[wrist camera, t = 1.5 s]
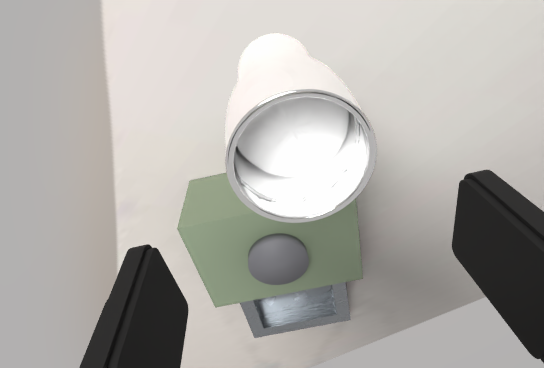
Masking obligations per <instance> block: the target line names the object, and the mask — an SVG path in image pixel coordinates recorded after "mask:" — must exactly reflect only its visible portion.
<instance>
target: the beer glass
mask: <svg viewBox="0 0 544 368" xmlns="http://www.w3.org/2000/svg"><path fill="white" fill-rule="evenodd" d="M237 75H238V81H237V83H236V85H235V87H234V88H233V90H232V93H231V95H230V98H229V102H228V106H227V111H226V117H225V150H226V158H225V164H226V172H227V177H228V180H229V182H230V185H231V187H232V189H233V191H234V192H235V194H236V195H237V197H238V198H239V199H240V200H241V201H242V202H243V203H244V204H245V205H246V206H247V207H248V208H250V209H251V210H252V211H254V212H256V213H257V214H259V215H261V216H263V217H266V218H269V219H272V220H275V221H280V222H287V223H303V222H310V221H315V220H319V219H322V218H325V217H328V216H330V215H332V214H334V213H336V212H338V211H340V210H341V209H343V208H344V207H346V206H347V205H348V204H350V203H351V202H352V201H353V200H354V199H355V198H356V197H357V196H358V195H359V194H360V193H361V192H362V190H363V189H364V188H365V186H366V185H367V183H368V181H369V179H370V177H371V175H372V173H373V170H374V167H375V163H376V156H377V144H376V138H375V134H374V130H373V128H372V125H371V124H370V122H369V120H368V118H367V117H366V115H365V114H364V113H363V112H362V110H361V108H360V106H359V104H358V102H357V101H356V99H355V97H354V96H353V94H352V93H351V91H350V90H349V88H348V87H347V86H346V84H345V83H344V82H343V81H342V79H341V78H340V77H339V76H338V75H337V74H336V73H335V72H334V71H333V70H331V69H330V68H329V67H328V66H327V65H325V64H324V63H322V62H321V61H319V60H317V59H315V58H313V57H311V56H310V55H309V53H308V51H307V50H306V48H305V47H304V46H303V45H302V44H301V43H300V42H299V41H298V40H297V39H295V38H293V37H291V36H289V35H286V34H281V33H271V34H266V35H263V36H261V37H259V38H257V39H255V40H254V41H252V42H251V43H250V44H249V45H248V46H247V47H246V49H245V50H244V51H243V53H242V55H241V57H240V60H239V63H238V70H237Z"/></svg>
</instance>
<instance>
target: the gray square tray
mask: <svg viewBox="0 0 544 368" xmlns="http://www.w3.org/2000/svg"><path fill="white" fill-rule="evenodd" d="M240 304H241V307H242V309H243V311H244V314H245V316H246V319H247V321H248V323H249V326H250V328H251V331H252V333H253V335H254V338H257V337H262V336H268V335H273V334H278V333H284V332H289V331H294V330H299V329H305V328H310V327H315V326H320V325H326V324H331V323H336V322H342V321H347V320H350V312H349V304H348V297H347V289H346V282H343V283H338V284H333V285H328V286H323V287H318V288H313V289H307V290H302V291H297V292H292V293H287V294H282V295H277V296H272V297H267V298H261V299H256V300H251V301H246V302H241V303H240Z"/></svg>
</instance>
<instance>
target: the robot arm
mask: <svg viewBox="0 0 544 368" xmlns="http://www.w3.org/2000/svg"><path fill="white" fill-rule="evenodd" d="M452 249H453V252H454V255H455V256H456V258H457V259H458V260H459V262H460V263H461V264H462V266H463V267H464V268H465V269H466V271H467V272H468V273H469V275H470V276H471V277H472V279H473V280H474V281H475V282H476V284H477V285H478V286H479V288H480V289H481V290H482V292H483V293H484V294H485V296H486V297H487V298H488V299H489V300H490V302H491V303H492V305H493V306H494V307H495V308H496V310H497V311H498V312H499V314H500V315H501V316H502V318H503V319H504V320H505V322H506V323H507V324H508V325H509V327H510V328H511V329H512V331H513V332H514V333H515V335H516V336H517V337H518V339H519V340H520V341H521V342H522V344H523V345H524V346H525V348H526V349H527V350H528V351H529V353H530V354H531V355H532V356H533V357H535V358H537V359H541V360H542V361H543V362H544V212H543V211H542V210H541V209H539V208H538V207H537V206H535V205H534V204H533V203H532V202H530V201H529V200H528V199H526V198H525V197H524V196H523V195H521V194H520V193H519V192H518V191H516V190H515V189H514V188H512V187H511V186H510V185H509V184H507V183H506V182H505V181H503V180H502V179H501V178H500V177H498V176H497V175H496V174H494V173H493V172H492V171H490V170H483V171H479V172H474V173H469V174H467V175H466V176H465V177H464V180H461V181H460V183H459V190H458V198H457V206H456V215H455V223H454V231H453V240H452ZM187 318H188V304H187V301H186V299H185V298H184V296H183V294H182V292H181V290H180V289H179V287H178V285H177V283H176V281H175V279H174V278H173V276H172V274H171V272H170V270H169V268H168V267H167V265H166V263H165V261H164V259H163V258H162V256H161V254H160V252H159V250H158V249H157V248H152V247H151V246H150V245H143V246H138V247H134V248H130V249H129V250H128V251H127V254H126V256H125V259H124V261H123V264H122V266H121V269H120V271H119V274H118V276H117V279H116V281H115V284H114V286H113V289H112V291H111V294H110V296H109V299H108V300H107V302H106V303H105V306H104V308H103V311H102V313H101V315H100V318H99V320H98V323H97V325H96V328H95V330H94V333H93V335H92V338H91V340H90V343H89V345H88V348H87V350H86V353H85V355H84V358H83V360H82V363H81V365H80V368H180V365H181V359H182V352H183V345H184V338H185V331H186V325H187Z"/></svg>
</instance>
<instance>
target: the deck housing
mask: <svg viewBox="0 0 544 368" xmlns="http://www.w3.org/2000/svg"><path fill="white" fill-rule="evenodd" d="M177 229H178V231H179V233H180V235H181V238H182V240H183V242H184V244H185V246H186V248H187V250H188V252H189V254H190V256H191V258H192V260H193V262H194V264H195V266H196V268H197V270H198V273H199V275H200V277H201V279H202V281H203V283H204V285H205V287H206V289H207V291H208V293H209V295H210V297H211V299H212V301H213V303H214V306H215V307H221V306H226V305H231V304H236V303H241V302H246V301H251V300H256V299H261V298H267V297H272V296H277V295H282V294H287V293H292V292H297V291H302V290H307V289H313V288H318V287H323V286H328V285H333V284H338V283H343V282H348V281H353V280H359V279H363V275H362V263H361V252H360V240H359V229H358V217H357V206H356V198H355V199H354V200H353V201H352V202H351V203H350V204H348V205H347V206H346V207H344V208H343V209H341V210H340V211H338V212H336V213H334V214H332V215H330V216H328V217H325V218H322V219H319V220H315V221H310V222H303V223H287V222H280V221H275V220H272V219H269V218H266V217H263V216H261V215H259V214H257V213H256V212H254V211H252V210H251V209H250V208H248V207H247V206H246V205H245V204H244V203H243V202H242V201H241V200H240V199H239V198H238V197H237V195H236V194H235V192H234V191H233V189H232V187H231V185H230V182H229V180H228V177H227V173H223V174H219V175H214V176H210V177H205V178H200V179H196V180H191V181H190V182H189V185H188V189H187V193H186V197H185V201H184V205H183V208H182V212H181V216H180V220H179V224H178V228H177Z"/></svg>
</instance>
